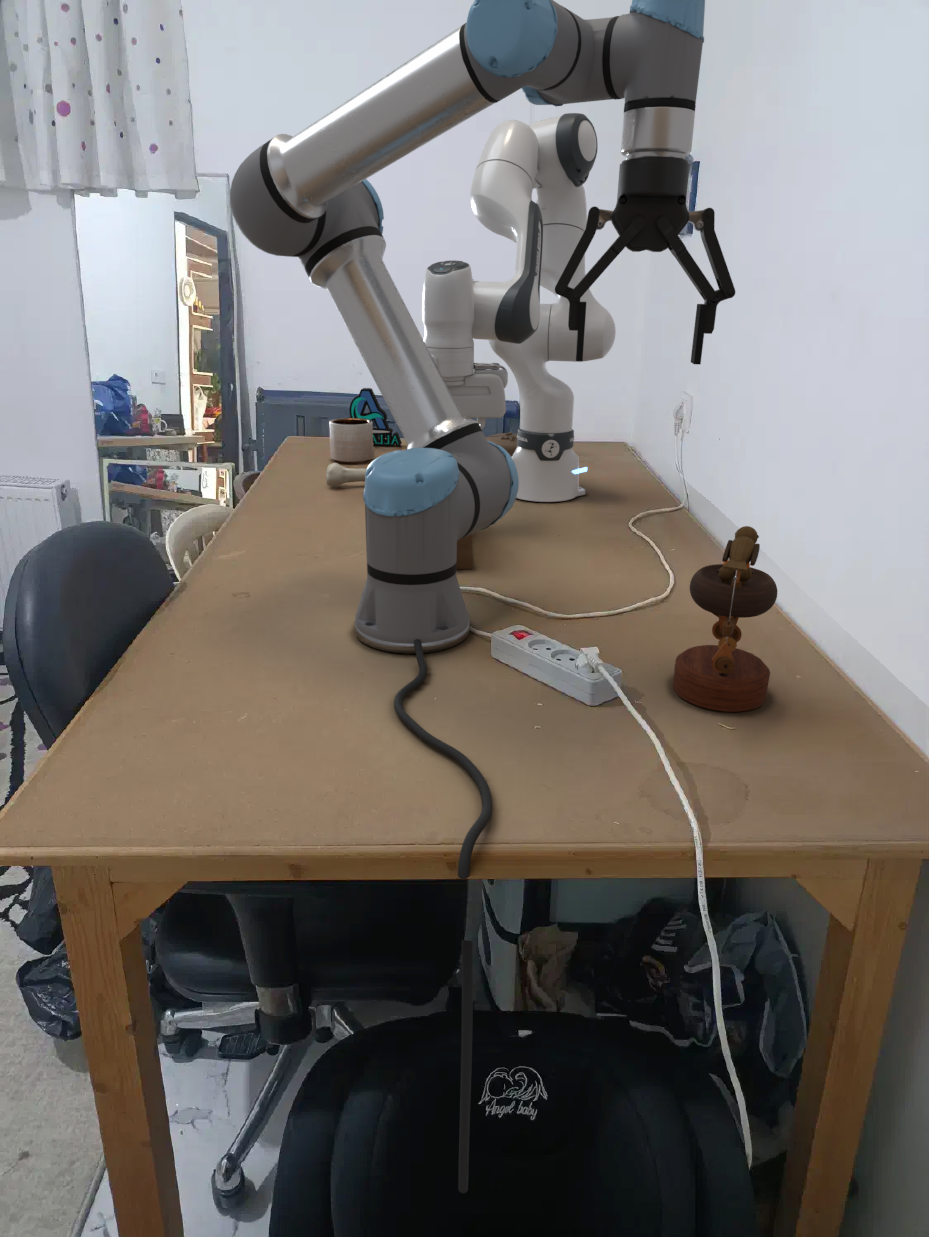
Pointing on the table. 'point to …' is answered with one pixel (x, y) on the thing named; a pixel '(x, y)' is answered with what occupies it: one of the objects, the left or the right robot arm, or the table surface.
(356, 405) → the decorative sign
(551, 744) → the table surface
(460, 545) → the box
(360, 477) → the dog toy
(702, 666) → the music box
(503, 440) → the brown flat oval slab
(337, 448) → the planter
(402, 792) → the table surface
